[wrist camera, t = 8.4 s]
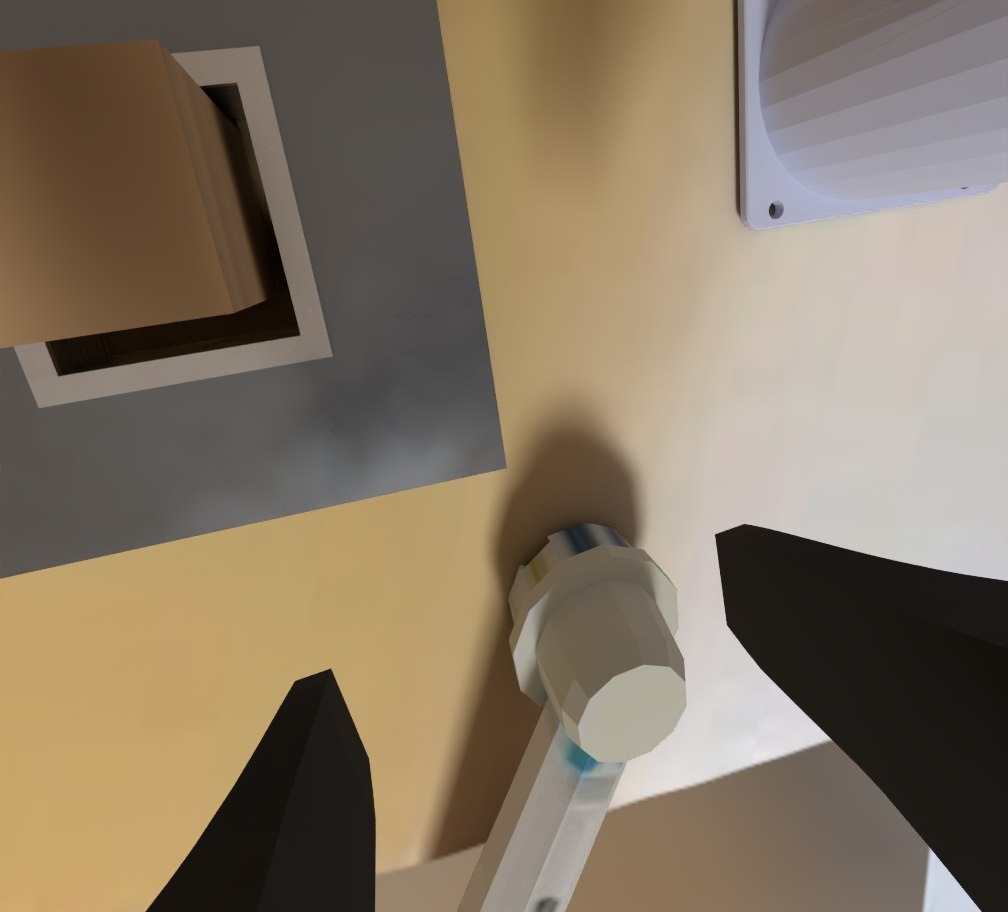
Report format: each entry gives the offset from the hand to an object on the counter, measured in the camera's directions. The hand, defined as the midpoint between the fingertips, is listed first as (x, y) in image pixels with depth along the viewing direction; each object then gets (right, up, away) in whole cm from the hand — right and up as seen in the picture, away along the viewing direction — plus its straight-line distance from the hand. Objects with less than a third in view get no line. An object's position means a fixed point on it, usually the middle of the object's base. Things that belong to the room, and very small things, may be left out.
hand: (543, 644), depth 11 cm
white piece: (-1, -10, +14) cm, 17 cm away
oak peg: (-9, +9, +5) cm, 14 cm away
